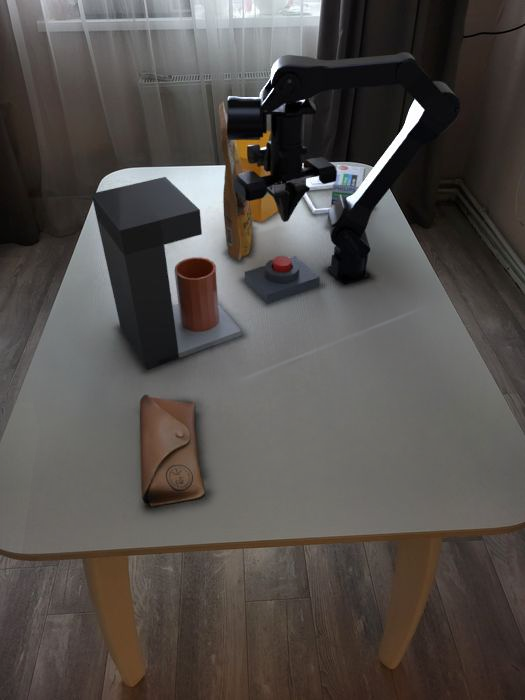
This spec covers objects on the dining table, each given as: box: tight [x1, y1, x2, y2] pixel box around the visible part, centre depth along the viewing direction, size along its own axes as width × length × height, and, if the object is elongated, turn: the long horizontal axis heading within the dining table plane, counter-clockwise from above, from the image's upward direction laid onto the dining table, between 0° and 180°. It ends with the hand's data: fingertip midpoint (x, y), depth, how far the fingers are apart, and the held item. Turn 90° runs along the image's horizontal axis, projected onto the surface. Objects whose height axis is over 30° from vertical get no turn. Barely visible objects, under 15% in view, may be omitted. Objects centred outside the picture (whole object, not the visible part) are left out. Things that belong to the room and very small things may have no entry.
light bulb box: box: [330, 164, 366, 208], centre depth 128 cm, size 11×7×11 cm, turn 169°
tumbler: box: [174, 256, 220, 332], centre depth 97 cm, size 7×7×11 cm
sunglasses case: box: [139, 394, 206, 507], centre depth 79 cm, size 18×7×7 cm
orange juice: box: [235, 130, 279, 223], centre depth 128 cm, size 8×9×20 cm
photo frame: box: [302, 176, 333, 215], centre depth 141 cm, size 15×1×18 cm
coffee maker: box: [91, 176, 242, 371], centre depth 92 cm, size 18×13×26 cm
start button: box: [273, 255, 292, 272], centre depth 109 cm, size 4×4×2 cm
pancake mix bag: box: [218, 100, 254, 261], centre depth 115 cm, size 7×19×28 cm, turn 178°
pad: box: [244, 255, 321, 304], centre depth 110 cm, size 12×9×4 cm
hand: (284, 220), depth 106 cm, fingers closed
